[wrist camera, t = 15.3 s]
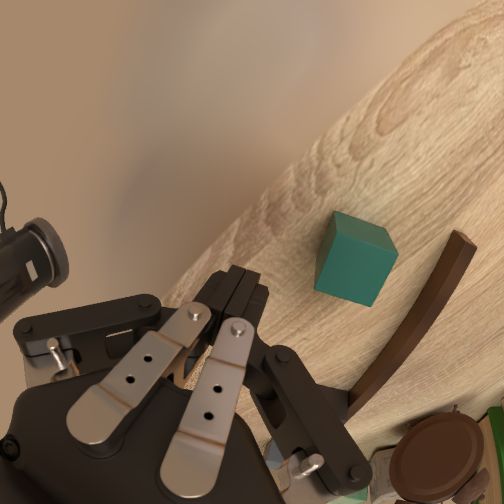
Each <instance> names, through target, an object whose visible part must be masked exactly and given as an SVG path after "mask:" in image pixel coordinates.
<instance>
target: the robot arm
mask: <svg viewBox="0 0 504 504" xmlns="http://www.w3.org/2000/svg"><path fill="white" fill-rule="evenodd" d="M0 191H1V194H2V199H3V204H2V208H1V211H0V226H1V232H2V233H1V234H0V324H1V323H2V322H3V321H4V320H5V319H6V318H7V317H9V316H10V315H11V314H12V313H13V312H14V311H15V310H17V309H18V308H19V307H20V306H21V305H23V304H24V303H25V302H26V301H27V300H29V299H30V298H31V297H32V296H34V295H35V294H36V293H37V292H38V291H40V290H41V289H42V288H44V287H45V286H47V284H50V283H51V282H52V281H53V280H54V279H55V276H56V269H55V264H54V260H53V257H52V255H51V252H50V250H49V248H48V246H47V244H46V243H45V241H44V240H43V238H42V237H41V236H40V235H39V234H38V233H37V232H36V231H34V230H31V228H30V227H29V226H26V227H25V228H23V229H21V230H19V231H17V232H16V231H15V230H14V228H13V227H11V228H9V229H8V230H6V228H5V222H4V213H5V209H6V206H7V196H6V192H5V190H4V187H3V185H2V183H1V182H0ZM260 276H261V274H259V273H257V272H254V271H251V270H248V269H247V270H246V269H245V268H242V267H239V266H236V265H232V266H231V268H230V269H229V271H228V272H227V273H226V272H224V271H221V270H219V271H217V272H215V273H213V274H212V275H211V276H210V278H209V279H208V281H207V282H206V283H205V285H204V286H203V287H202V289H201V290H200V291H199V293H198V294H197V295H196V297H195V298H194V300H193V301H192V302H187V303H184V304H183V305H182V306H181V307H180V308H167V307H161V302H160V300H159V299H158V298H157V297H155V296H153V295H150V294H140V295H135V296H130V297H125V298H121V299H116V300H111V301H106V302H102V303H97V304H92V305H87V306H83V307H78V308H72V309H67V310H62V311H57V312H52V313H47V314H42V315H37V316H31V317H26V318H23V319H21V320H19V321H18V322H17V323H16V325H15V326H14V329H13V335H14V338H15V340H16V341H17V343H18V345H19V348H20V351H21V353H22V354H23V359H24V368H25V376H26V384H27V390H25V391H24V392H22V393H21V394H20V396H19V397H18V398H17V400H16V402H15V405H14V409H13V415H12V420H11V423H10V427H9V429H8V432H7V434H6V435H5V437H4V438H3V439H1V440H0V504H326V503H328V502H330V501H332V500H335V499H338V498H341V497H344V496H347V495H350V494H352V493H355V492H358V491H360V490H362V489H364V488H366V487H367V486H368V485H369V484H370V482H371V480H372V477H373V470H372V467H371V465H370V464H369V462H368V461H367V459H366V458H365V456H364V455H363V453H362V452H361V450H360V449H359V447H358V446H357V444H356V443H355V442H354V440H353V439H352V437H351V436H350V434H349V433H348V431H347V430H346V428H345V427H344V425H343V424H342V422H341V421H340V419H339V418H338V416H337V415H336V413H335V412H334V410H333V409H332V407H331V406H330V404H329V403H328V401H327V400H326V398H325V397H324V395H323V393H322V392H321V390H320V389H319V387H318V386H317V384H316V383H315V381H314V380H313V378H312V377H311V375H310V374H309V372H308V370H307V369H306V367H305V366H304V364H303V363H302V361H301V360H300V358H299V357H298V355H297V354H296V352H295V351H294V350H292V349H291V348H289V347H287V346H283V345H275V346H272V347H270V346H269V345H267V344H266V343H264V342H263V341H262V340H261V339H260V338H259V336H258V334H257V327H258V324H259V322H260V319H261V316H262V313H263V311H264V308H265V305H266V302H267V299H268V296H269V291H268V287H267V286H264V285H261V284H258V283H259V279H260ZM129 329H132V331H130V332H126V333H122V334H118V335H114V336H110V337H106V336H107V335H109V334H113V333H117V332H121V331H126V330H129ZM209 345H211V346H213V348H212V351H211V353H210V355H209V357H207V358H206V360H205V363H204V365H203V368H202V370H201V373H200V375H199V378H198V380H197V383H196V385H195V387H194V390H193V391H192V390H187V389H183V388H184V386H185V384H186V383H187V381H188V380H189V378H190V377H191V375H192V374H193V372H194V371H195V369H196V368H197V366H198V365H199V363H200V362H201V360H202V359H203V357H204V353H205V351H206V350H207V348H208V346H209ZM89 372H90V373H89ZM85 373H86V374H85ZM81 374H82V375H81ZM78 375H79V376H78ZM242 384H243V385H244V386H246V387H247V388H248V389H250V395H251V397H252V399H253V401H254V403H255V405H256V407H257V409H258V411H259V413H260V415H261V417H262V419H263V421H264V423H265V425H266V427H267V429H268V431H269V433H270V435H271V436H272V438H273V440H274V442H275V444H276V446H277V448H278V450H279V451H280V453H281V455H282V457H283V459H284V462H283V463H282V464H281V465H280V467H279V469H278V477H279V480H280V484H281V485H280V490H279V489H278V487H277V485H276V483H275V481H274V479H273V477H272V475H271V473H270V471H269V469H268V466H267V464H266V462H265V460H264V458H263V456H262V454H261V451H260V449H259V447H258V445H257V443H256V440H255V438H254V436H253V434H252V432H251V429H250V428H249V426H248V425H247V423H246V422H245V421H244V420H243V419H242V418H241V417H240V416H239V415H238V414H237V413H236V412H235V409H236V406H237V402H238V398H239V395H240V391H241V387H242Z"/></svg>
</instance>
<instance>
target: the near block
mask: <svg viewBox="0 0 504 504" xmlns="http://www.w3.org/2000/svg"><path fill="white" fill-rule="evenodd" d="M398 255H399V254H398V252H397V250H396V248H395V246H394V244H393V242H392V240H391V238H390V236H389V234H388V233H387V231H386V229H384V228H381V227H379V226H376V225H373V224H371V223H368V222H365V221H362V220H360V219H357V218H354V217H351V216H348V215H346V214H343V213H340V212H337V211H334V213H333V216H332V218H331V221H330V224H329V227H328V230H327V232H326V235H325V238H324V240H323V243H322V246H321V249H320V251H319V254H318V256H317V259H316V270H315V281H314V290H317V291H320V292H323V293H326V294H329V295H333V296H336V297H339V298H342V299H346V300H349V301H352V302H355V303H359V304H362V305H365V306H368V307H371V306H372V304H373V303H374V301H375V299H376V297H377V296H378V294H379V292H380V290H381V288H382V286H383V284H384V283H385V281H386V279H387V277H388V275H389V273H390V271H391V269H392V267H393V265H394V263H395V261H396V259H397V257H398Z"/></svg>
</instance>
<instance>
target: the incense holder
mask: <svg viewBox="0 0 504 504" xmlns="http://www.w3.org/2000/svg"><path fill="white" fill-rule="evenodd" d="M394 450H395V448H392V449H388V450H383V451H378V452H376V453H375V454H374V456H373V457H372V460H371V462H370V465H371V467H372V470H373V477H372V480H371V482H370V484H369V486H370V499H371V504H378V503H382V502H386V501H389V500H393V499H396V498H399V497H400V496H399V495H398V494H397V492H396V491H395V489H394V488H393V486H392V484H391V481H390V477H389V465H390V460H391V457H392V454H393V452H394Z"/></svg>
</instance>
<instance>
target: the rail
mask: <svg viewBox="0 0 504 504" xmlns="http://www.w3.org/2000/svg"><path fill="white" fill-rule="evenodd" d="M476 250H477V246H476V245H475V244H474V243H473V242H472V241H471V240H470V239H469V238H468V237H467V236H466V235H464V234H462V233H460V232H458V231H456V230H454V231H453V233H452V235H451V237H450V239H449V242H448V244H447V246H446V248H445V250H444V252H443V254H442V256H441V258H440V260H439V262H438V264H437V266H436V267H435V269H434V271H433V273H432V275H431V277H430V278H429V280H428V282H427V284H426V286H425V287H424V289H423V291H422V292H421V294H420V296H419V297H418V299H417V301H416V302H415V304H414V306H413V307H412V309H411V310H410V312H409V313H408V315H407V317H406V318H405V320H404V321H403V323H402V324H401V326H400V327H399V329H398V330H397V331H396V333H395V334H394V336H393V337H392V339H391V340H390V341H389V343H388V344H387V346H386V347H385V348H384V350H383V351H382V352H381V354H380V355H379V356H378V358H377V359H376V360H375V361H374V363H373V364H372V365H371V367H370V368H369V369H368V370H367V371H366V373H365V374H364V375H363V376H362V378H361V379H360V380H359V381H358V382H357V384H356V385H355V386H354V387H353V388H352V389H351V390H350V392H349V393H348V420H349V419H350V418H351V417H352V416H353V415H354V414H355V413H356V412H357V411H358V410H360V409H361V408H362V407H363V406H364V405H365V404H366V403H367V402H368V401H369V400H370V399H371V398H372V397H373V396H374V395H375V393H376V392H377V391H378V390H379V389H380V388H381V387H382V386H383V385H384V384H385V383H386V382H387V381H388V379H389V378H390V377H391V376H392V375H393V374H394V373H395V372H396V370H397V369H398V368H399V367H400V366H401V365H402V363H403V362H404V361H405V360H406V358H407V357H408V356H409V355H410V354H411V352H412V351H413V350H414V348H415V347H416V346H417V345H418V343H419V342H420V341H421V339H422V338H423V337H424V335H425V334H426V333H427V331H428V330H429V328H430V327H431V326H432V324H433V323H434V321H435V320H436V318H437V317H438V315H439V314H440V312H441V311H442V309H443V308H444V306H445V305H446V303H447V302H448V300H449V298H450V297H451V295H452V294H453V292H454V290H455V289H456V287H457V285H458V283H459V282H460V280H461V278H462V276H463V275H464V273H465V271H466V269H467V267H468V265H469V264H470V262H471V260H472V258H473V256H474V254H475V252H476ZM348 420H347V421H348Z"/></svg>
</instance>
